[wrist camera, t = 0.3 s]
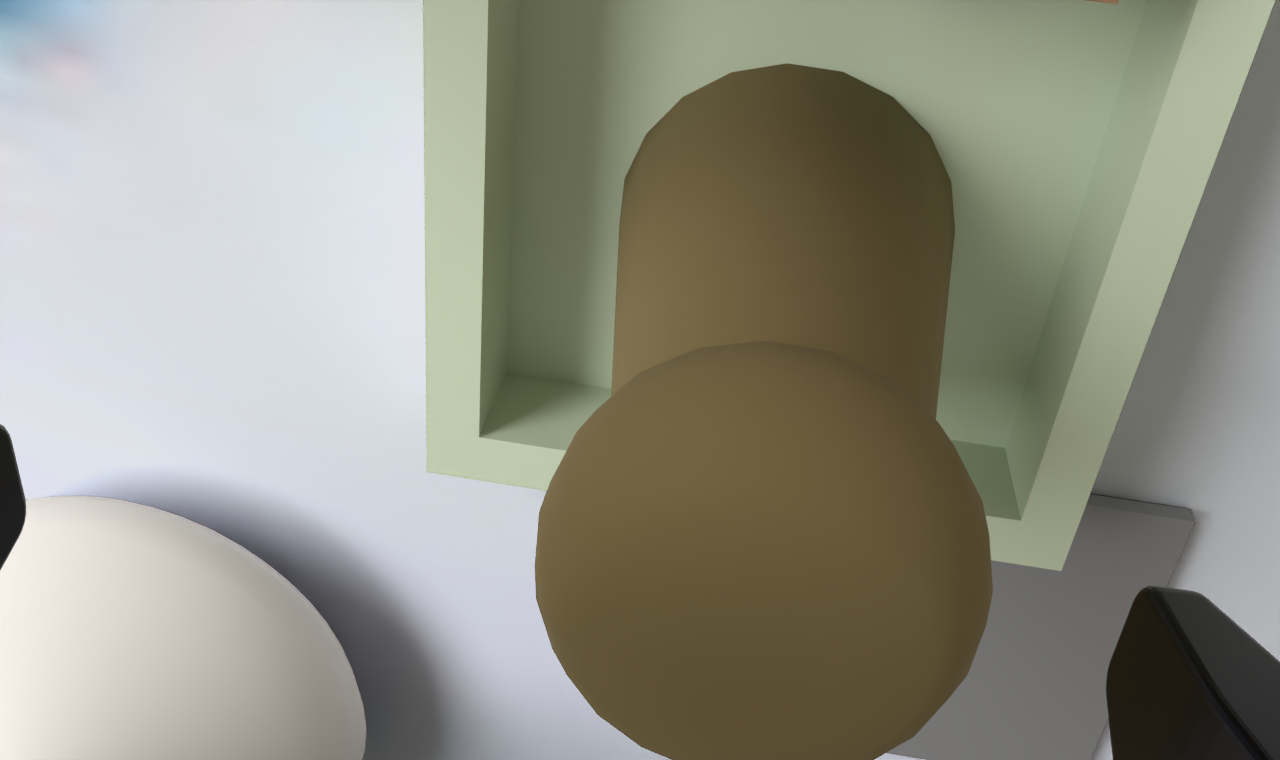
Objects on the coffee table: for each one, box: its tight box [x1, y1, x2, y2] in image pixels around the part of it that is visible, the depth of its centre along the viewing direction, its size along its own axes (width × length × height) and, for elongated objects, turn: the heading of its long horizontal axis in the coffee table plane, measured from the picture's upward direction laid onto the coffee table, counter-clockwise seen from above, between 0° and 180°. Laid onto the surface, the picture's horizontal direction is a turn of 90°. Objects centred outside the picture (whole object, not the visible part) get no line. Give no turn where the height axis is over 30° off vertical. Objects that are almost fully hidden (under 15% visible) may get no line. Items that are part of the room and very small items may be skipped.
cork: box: [535, 63, 993, 760], centre depth 17 cm, size 6×6×11 cm
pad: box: [886, 494, 1196, 760], centre depth 26 cm, size 8×8×1 cm
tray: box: [423, 0, 1275, 571], centre depth 19 cm, size 16×12×3 cm
